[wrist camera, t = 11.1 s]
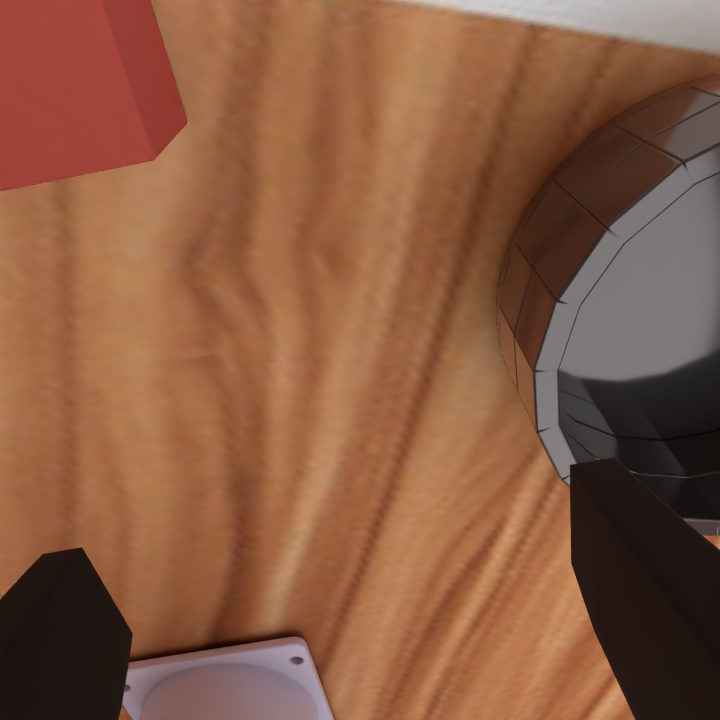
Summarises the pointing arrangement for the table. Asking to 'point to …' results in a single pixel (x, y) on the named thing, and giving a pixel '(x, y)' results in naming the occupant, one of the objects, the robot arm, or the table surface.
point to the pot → (626, 301)
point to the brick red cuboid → (82, 89)
